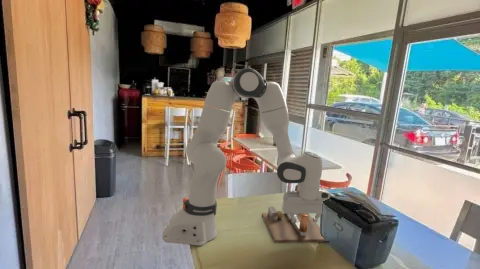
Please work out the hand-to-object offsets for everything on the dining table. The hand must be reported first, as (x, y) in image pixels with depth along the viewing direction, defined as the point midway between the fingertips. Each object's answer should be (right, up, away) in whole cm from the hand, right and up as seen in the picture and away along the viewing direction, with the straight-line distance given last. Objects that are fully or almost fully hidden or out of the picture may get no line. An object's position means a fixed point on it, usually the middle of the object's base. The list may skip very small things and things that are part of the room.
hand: (304, 221), depth 112 cm
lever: (-2, -4, +10) cm, 11 cm away
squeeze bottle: (+5, -3, +31) cm, 31 cm away
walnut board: (-3, -6, +9) cm, 11 cm away
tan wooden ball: (-9, -3, +14) cm, 17 cm away
